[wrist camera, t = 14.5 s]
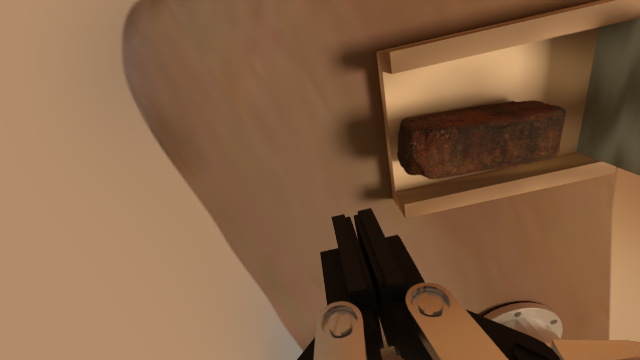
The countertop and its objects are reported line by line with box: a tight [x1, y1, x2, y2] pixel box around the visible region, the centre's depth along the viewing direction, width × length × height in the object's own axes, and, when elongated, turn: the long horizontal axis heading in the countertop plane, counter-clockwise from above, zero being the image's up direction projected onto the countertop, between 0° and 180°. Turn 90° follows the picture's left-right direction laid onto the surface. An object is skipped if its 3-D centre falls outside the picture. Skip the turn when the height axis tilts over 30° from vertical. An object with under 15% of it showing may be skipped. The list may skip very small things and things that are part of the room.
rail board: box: [376, 0, 640, 218], centre depth 22 cm, size 13×18×7 cm
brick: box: [397, 100, 566, 179], centre depth 22 cm, size 11×4×5 cm, turn 99°
